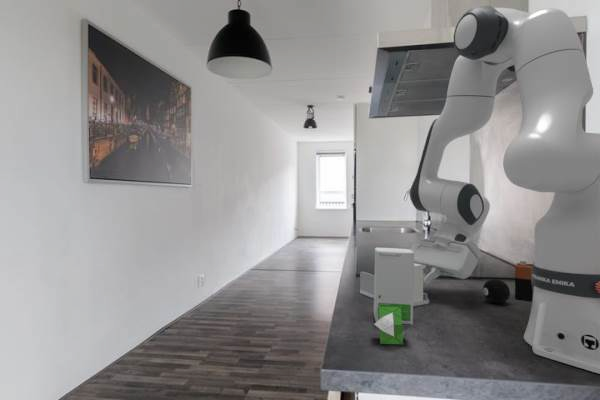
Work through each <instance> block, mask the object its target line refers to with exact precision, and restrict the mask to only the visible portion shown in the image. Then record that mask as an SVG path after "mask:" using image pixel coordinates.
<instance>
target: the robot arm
mask: <svg viewBox="0 0 600 400" xmlns="http://www.w3.org/2000/svg"><path fill="white" fill-rule="evenodd" d="M453 46H454V49H455V51H456V53H457V54H458V56H457V58H456V60H455V61H454V64H453V67H452V70H451V74H450V77H449V81H448V87H447V93H446V99H445V104H444V106H443V109H442V110H441V113H440V115H439V116H438V118H436V119H434V120H433V121H432V123H431V125H430V126H429V130H428V132H427V136H426V138H425V143H424V145H423V150H422V153H421V154H422V155H421V158H420V161H419V165H418V169H417V172H416V175H415V177H414V180H413V181H412V183H411V187H410V190H409V198H410V202H411V204H412V205H413V206H414V208H415V209H416V210H417V211H420V212H425V213H434V214H438V215H442V216H445V217H446V220H445V221H444V222H442V223H441V224H440V225H439V227H438V228H437V229H436V231H435V233H434V234H433V235H432V237H431V239H428V238H423V239H422V240H421V239H420V240H418V241H416V242H414V244H413V245H412V246H411V247H410V248H409V249H410V250H411V251H413V252H414V263H416V264H420V265H423V285H426V286H429V284H430V283H431V282H432V281H434V280H435V279H437V278H438V277H439V276H440V275H445V276H450V277H454V278H457V279H461V280H465V279H467V278H469V277H471V275H472V274H473V272H474V271H475V269H476V266H477V265H478V260H479V259H480V258H481V257H482V256H483V253H482V251H481V249H480V248H479V247H478V245H477V244H476V242H475V241H474V240H473V237H474V236H475V235H476V234H478V232H479V231H480V230H481V228H482V226H483V225H484V223H485V221H486V219H487V216H488V215H489V212H490V207H491V204H490V201H489V200H488V198H487V196H485V195H484V194H482V193H480V191H479V189H478V188H477V186H475V185H474V184H473V183H469V182H464V181H459V180H451V179H445V178H441V177H439V176H438V173H439V170H440V166H441V163H442V160H443V159H442V158H443V156H444V152H445V150H446V148H447V146H448V145H449V144H450V143H451V142H452V141H454V140H456V139H458V138H463V137H464V136H468V135H471V134H474V133H476V132H477V131H479V130H481V129H482V128H484V126H486V125H487V124H488V122H489V121H490V119H491V118H492V115H493V112H494V106H495V99H496V91H497V83H498V80H499V77H500V75H501V74H502V73H503V72H504V71H505V70H506V69H507V70H508V71H510V72H512V73H514V72H515V76H516V82H517V86H518V91H519V98H520V104H521V111H522V112H521V114H522V115H521V123H520V128H519V130H518V133H517V135H516V137H514V139H513V140H512V141H510V143H509V144H508V146H507V147H506V149H505V152H504V154H503V161H502V164H503V165H502V166H503V171H504V174H505V175H506V178H507V179H508V180H509V181H510V182H511V183H512V184H514V185H515V186H517V187H519V188H523V189H525V190H531V191H532V192H533V191H534V192H537V193H538V192H539V193H554V195H553V197H552V198H553V199H552V202H551V204H550V207H549V209H548V210H547V212H546V213H545V214H544V215H543V216H542V217H541V218H540V219H538V221H537V222H536V224H535V227H534V258H533V260H534V261H533V264H534V265H533V266H532V274H531V285H532V291H533V300H532V301H531V307H530V313H529V319H528V323H527V326H526V329H525V332H524V334H523V340H524V341H525V342H526V343H527V344H529V345H530V346H531V347H532V353H533V354H535V355H538V356H541V357H543V358H546V359H550V360H553V361H556V362H558V363H559V362H560V363H563V364H566V365H569V366H573V367H576V368H579V369H583V370H586V371H590V372H592V373H594V374H595V373H596V374H599V375H600V133H597V132H595V133H594V132H585V130H584V127H583V122H582V119H583V110H584V107H585V106H586V105H587V104H588V103H589V102H590V100H592V98H593V95H594V87H593V83H592V80H591V79H592V78H591V75H590V72H589V67H588V62H587V60H586V55H585V51H584V48H583V45H582V41H581V39H580V37H579V34H578V31H577V30H576V27H575V25H574V24H573V21H571V19H570V17H569V15H568V14H567V13H566V12H565V11H563V10H561V9H558V8H545V9H541V10H537V11H535V12H533V13H530V12H528V11H527V12H526V11H523V10H518V9H516V8H510V7H509V8H508V7H492V6H487V5H485V6H484V5H483V6H477V7H472V8H470V9H468V10H467V11H466V12H465V13H464V14H462V16H461V18H460V19H459V20H458V22H457V24H456V26H455V29H454V33H453Z"/></svg>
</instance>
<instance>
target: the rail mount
mask: <svg viewBox="0 0 600 400" xmlns="http://www.w3.org/2000/svg"><path fill="white" fill-rule="evenodd" d="M374 275H375V274H372V273H369V272H366V271H360V272H359V294H361V295H363V296H366V297H369V298H371V299H373V300H374ZM428 295H429V294H428V293H426V292H423V301H418V302H413V307H417V306H423V305H428V304H430V299H429V297H428Z"/></svg>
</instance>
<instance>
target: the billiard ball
mask: <svg viewBox="0 0 600 400" xmlns="http://www.w3.org/2000/svg"><path fill="white" fill-rule="evenodd" d="M482 294H483V295H484V298H485V299H486V300H487V301H489V302H490V303H493V304H503V303H505V302H507V301H508V300H509V298H510V295H511V290H510V287H509V285H508V284H507V282H504V281H503V280H501V279H497V278H496V279H495V278H494V279H489V280H487V281H485V283H484V284H483V287H482Z"/></svg>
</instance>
